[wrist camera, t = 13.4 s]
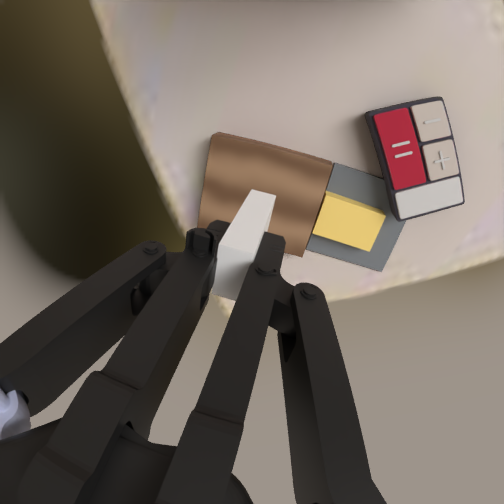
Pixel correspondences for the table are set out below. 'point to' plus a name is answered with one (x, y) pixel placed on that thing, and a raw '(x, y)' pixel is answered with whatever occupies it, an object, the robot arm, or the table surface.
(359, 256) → the mat
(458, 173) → the calculator
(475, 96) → the table surface
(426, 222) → the table surface
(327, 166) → the brown wooden slab
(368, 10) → the table surface
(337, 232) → the butter yellow block
